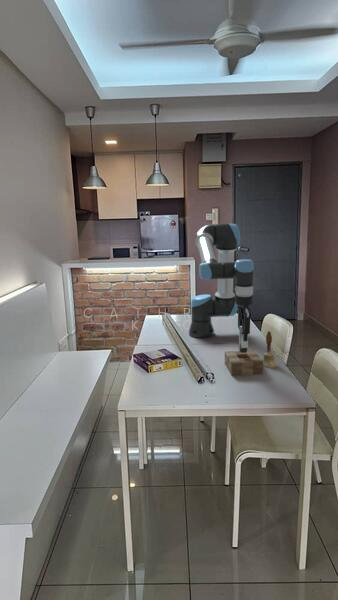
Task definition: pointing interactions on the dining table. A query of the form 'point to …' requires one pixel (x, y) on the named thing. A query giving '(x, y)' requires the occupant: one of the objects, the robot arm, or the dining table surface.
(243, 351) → the peg
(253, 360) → the socket
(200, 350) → the dining table surface
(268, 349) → the hand bell
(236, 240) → the robot arm
